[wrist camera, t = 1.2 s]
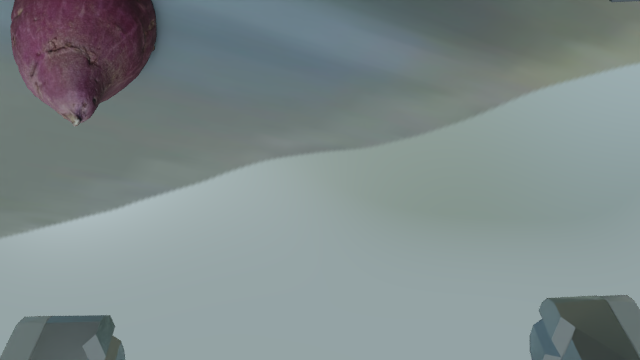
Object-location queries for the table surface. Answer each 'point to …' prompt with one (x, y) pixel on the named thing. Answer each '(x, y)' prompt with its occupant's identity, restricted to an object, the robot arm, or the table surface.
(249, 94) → the table surface
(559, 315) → the robot arm
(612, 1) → the bracket
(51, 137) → the table surface
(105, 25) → the vegetable
